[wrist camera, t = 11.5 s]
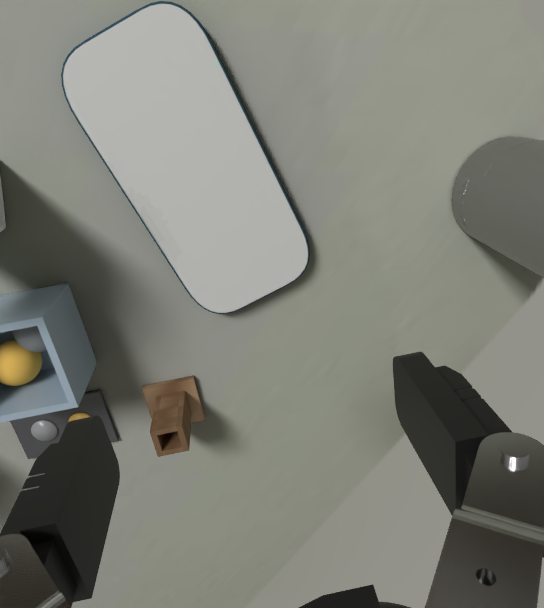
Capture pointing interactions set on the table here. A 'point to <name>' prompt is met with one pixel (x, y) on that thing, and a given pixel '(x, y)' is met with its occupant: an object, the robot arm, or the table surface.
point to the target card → (60, 424)
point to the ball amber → (18, 364)
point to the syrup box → (2, 210)
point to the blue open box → (47, 352)
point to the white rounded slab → (186, 155)
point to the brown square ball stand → (173, 413)
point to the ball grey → (30, 339)
